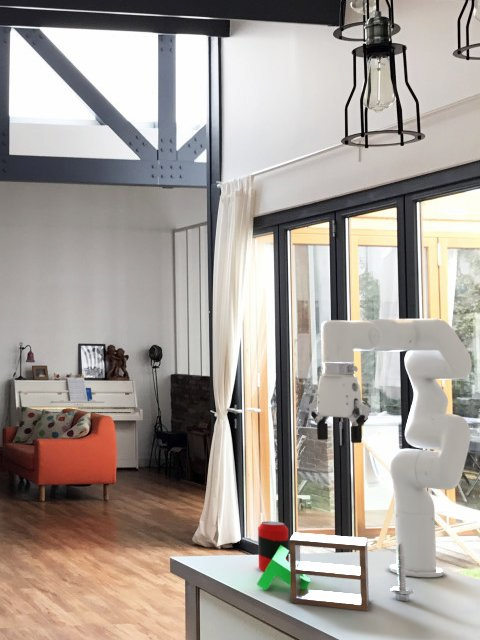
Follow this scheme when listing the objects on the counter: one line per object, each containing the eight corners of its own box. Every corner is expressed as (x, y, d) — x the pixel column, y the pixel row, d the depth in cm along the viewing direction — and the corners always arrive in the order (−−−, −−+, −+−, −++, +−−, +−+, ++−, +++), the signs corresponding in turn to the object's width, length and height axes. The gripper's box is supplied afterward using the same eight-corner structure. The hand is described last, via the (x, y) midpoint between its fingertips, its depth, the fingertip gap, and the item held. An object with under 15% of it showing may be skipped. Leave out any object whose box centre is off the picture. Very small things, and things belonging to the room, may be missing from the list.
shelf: (295, 593, 237) (294, 532, 239) (368, 601, 231) (367, 538, 232) (290, 602, 228) (289, 539, 230) (366, 610, 222) (365, 545, 223)
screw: (405, 596, 236) (418, 601, 231) (386, 597, 235) (399, 602, 230) (403, 539, 237) (416, 543, 232) (385, 540, 236) (397, 544, 231)
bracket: (293, 610, 237) (309, 584, 236) (256, 584, 241) (272, 559, 240) (301, 591, 256) (316, 567, 255) (266, 568, 259) (280, 544, 259)
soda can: (264, 566, 269) (263, 519, 270) (293, 569, 264) (292, 522, 266) (254, 570, 263) (253, 523, 264) (283, 574, 258) (282, 526, 259)
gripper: (378, 371, 244) (380, 443, 242) (318, 370, 258) (319, 438, 256) (358, 371, 240) (360, 444, 238) (299, 369, 254) (300, 438, 252)
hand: (339, 441), depth 247 cm, fingers open, 9 cm apart
